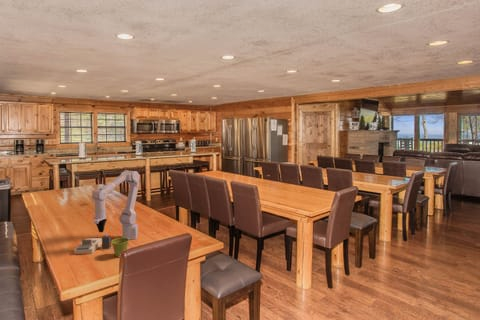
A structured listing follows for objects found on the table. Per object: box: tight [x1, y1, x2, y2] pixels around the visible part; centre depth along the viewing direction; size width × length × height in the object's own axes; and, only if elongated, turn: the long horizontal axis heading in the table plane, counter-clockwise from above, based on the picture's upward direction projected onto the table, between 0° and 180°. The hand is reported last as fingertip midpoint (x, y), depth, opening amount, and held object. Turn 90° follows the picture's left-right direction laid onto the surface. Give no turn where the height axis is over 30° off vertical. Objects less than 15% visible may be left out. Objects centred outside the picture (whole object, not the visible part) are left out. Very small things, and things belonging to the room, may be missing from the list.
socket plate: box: [73, 237, 102, 255], centre depth 188 cm, size 10×18×2 cm, turn 6°
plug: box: [101, 233, 112, 250], centre depth 187 cm, size 4×4×8 cm
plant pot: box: [111, 237, 130, 258], centre depth 177 cm, size 9×9×9 cm
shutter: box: [76, 238, 92, 250], centre depth 181 cm, size 6×7×3 cm
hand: (101, 231), depth 187 cm, fingers closed
